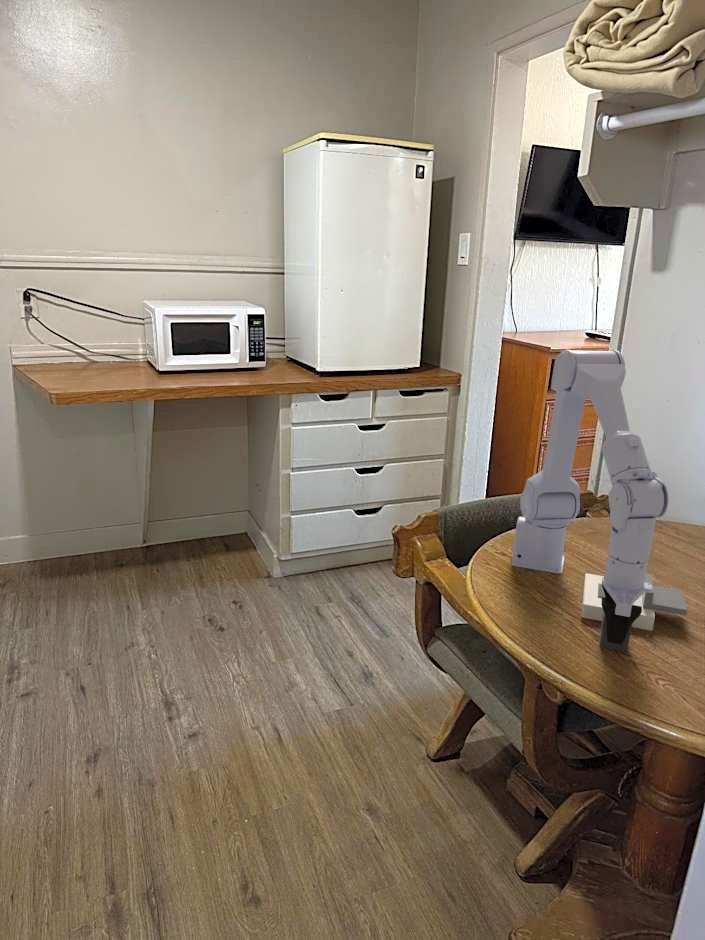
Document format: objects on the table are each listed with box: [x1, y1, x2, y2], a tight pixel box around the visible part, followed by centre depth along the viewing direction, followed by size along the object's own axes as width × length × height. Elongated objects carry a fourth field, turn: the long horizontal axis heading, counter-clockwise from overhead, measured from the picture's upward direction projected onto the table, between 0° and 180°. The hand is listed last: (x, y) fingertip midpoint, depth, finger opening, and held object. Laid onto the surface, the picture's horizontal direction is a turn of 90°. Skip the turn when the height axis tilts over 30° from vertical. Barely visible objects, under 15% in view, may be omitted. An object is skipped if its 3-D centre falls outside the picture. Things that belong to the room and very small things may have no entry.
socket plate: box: [581, 572, 656, 632], centre depth 116 cm, size 11×12×2 cm
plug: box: [599, 612, 633, 653], centre depth 104 cm, size 4×4×7 cm
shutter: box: [642, 573, 688, 616], centre depth 113 cm, size 6×7×3 cm
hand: (614, 634), depth 105 cm, fingers closed on plug, 4 cm apart
